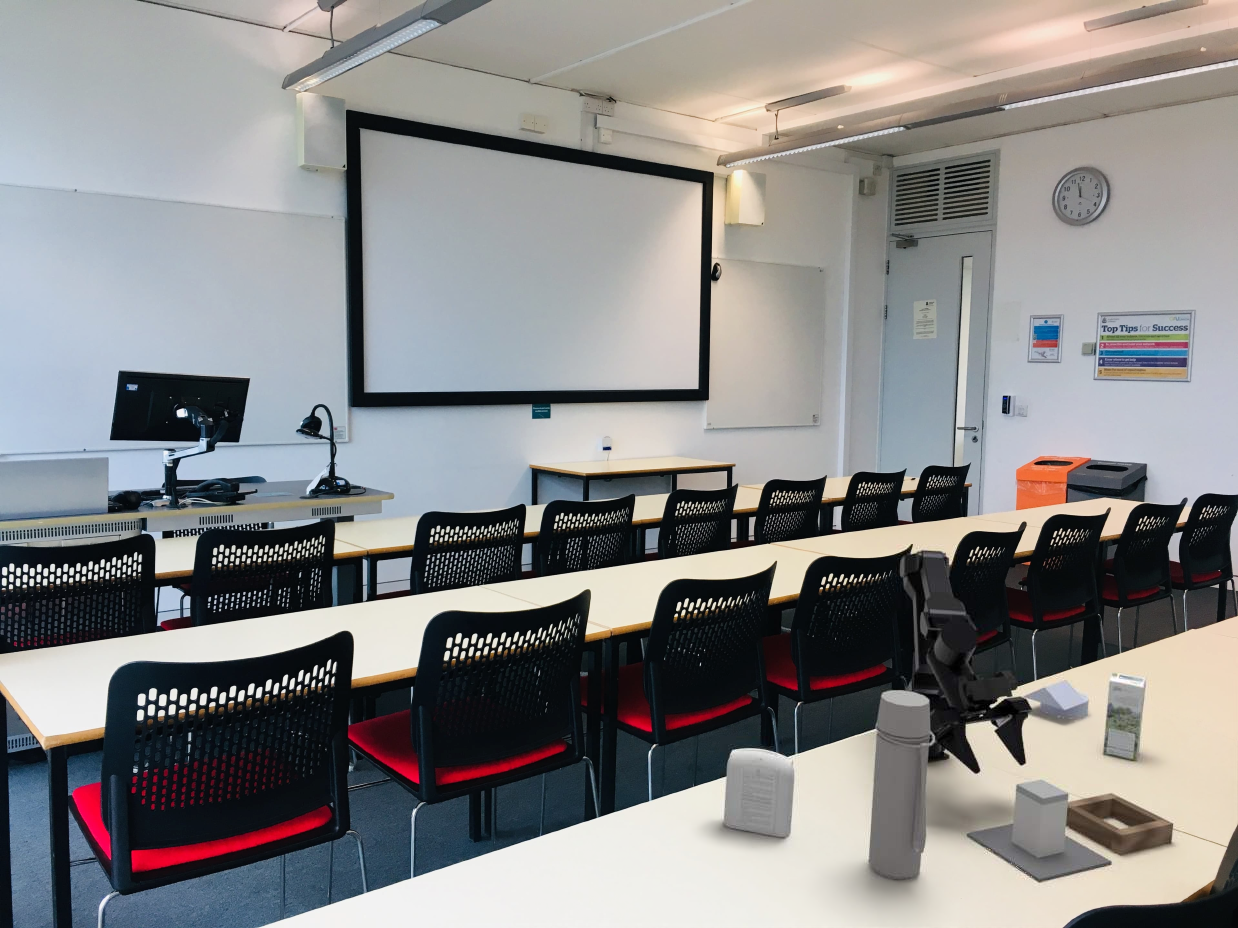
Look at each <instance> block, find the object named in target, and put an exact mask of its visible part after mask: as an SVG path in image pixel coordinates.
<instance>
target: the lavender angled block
mask: <svg viewBox="0 0 1238 928" xmlns="http://www.w3.org/2000/svg"><path fill="white" fill-rule="evenodd" d="M1022 697H1023V698H1025V699H1027V700H1032V701H1034V702H1038V703H1039V704H1040V705H1039V706H1040V710H1041V709H1042V710H1043V711H1042V710H1041V711H1042V712H1044V711H1045V712H1044V713H1046V712H1047V713H1046V714H1048V715H1050V714H1051V716H1053V715H1055V716H1054V717H1057V716H1060V717H1059V718H1062V717H1064V718H1063V719H1069V718H1081V719H1085V718H1086V716H1087V717H1088V712H1089V700H1090V699H1089V697H1088V696H1087V695H1086V694H1084V693H1081V692H1078V691H1077V690H1076V689H1075V688H1074V687H1073V685H1072V684H1070V683H1069V681H1068V680H1067V679H1065V680H1062V681H1059V682H1055V683H1053V684H1050V685H1047V686H1044V687H1042V688H1039V689H1038V690H1035V691H1033V692H1031V693H1028V694H1026V695H1024V696H1022ZM1084 717H1085V718H1084Z"/></svg>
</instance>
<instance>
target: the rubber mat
mask: <svg viewBox="0 0 1238 928" xmlns="http://www.w3.org/2000/svg"><path fill="white" fill-rule="evenodd" d="M1012 834H1013V823H1009V824H1004V825H999V826H995V827H990V828H986V829H985V828H984V829H981V830H975V831H971V832H970V831H969V832H968V833H966V836H967V837H968V838H969V839H971V840H973V841H974V842H976V843H977V842H978V843H977V844H979V843H980V844H981V846H982V845H983V847H984V846H985V847H986V848H985V847H984V848H985V849H987V848H988V849H990V850H991V851H993V852H994V853H993V852H992V853H993V854H995V855H996V854H997V855H996V856H998V855H999V856H1001V857H1002V858H1004V859H1005V860H1004V859H1003V860H1004V861H1006V860H1007V861H1008V862H1007V861H1006V862H1007V863H1009V862H1010V863H1012V864H1013V865H1015V866H1017V867H1018V868H1019V869H1018V868H1017V867H1016V868H1017V869H1018V870H1020V869H1021V870H1022V871H1021V870H1020V871H1021V872H1023V871H1024V872H1026V873H1027V874H1026V873H1025V874H1026V875H1028V876H1029V875H1030V876H1029V877H1031V876H1032V877H1033V878H1032V877H1031V878H1032V879H1034V878H1035V879H1036V880H1035V879H1034V880H1035V881H1037V880H1038V881H1037V882H1039V881H1041V882H1045V881H1048V879H1049V880H1052V879H1051V878H1053V879H1056V877H1057V878H1061V877H1064V875H1065V876H1070V875H1073V874H1076V873H1077V874H1078V873H1081V872H1085V871H1088V870H1093V869H1097V868H1101V867H1104V866H1109V865H1112V860H1110V859H1109V858H1107V857H1104V856H1103V855H1101V854H1099V853H1098V852H1096V851H1094V850H1092V849H1090V848H1089V847H1087V846H1085V845H1083V844H1081V843H1080V842H1078V841H1076V840H1075V839H1073V838H1071V837H1069V836H1068V835H1066V834H1065V841H1064V852H1061V853H1057V854H1053V855H1048V856H1044V857H1040V858H1037V857H1036V856H1034V855H1033V854H1031V853H1029V852H1028V851H1026V850H1024V849H1023V848H1021V847H1019V846H1018V845H1016V844H1015V843H1013V842H1012ZM980 844H979V845H980ZM988 849H987V850H988ZM990 850H989V851H990ZM991 851H990V852H991ZM999 856H998V857H999ZM1001 857H1000V858H1001ZM1002 858H1001V859H1002ZM1010 863H1009V864H1010ZM1012 864H1011V865H1012ZM1013 865H1012V866H1013ZM1015 866H1014V867H1015ZM1024 872H1023V873H1024ZM1060 876H1061V877H1060ZM1044 880H1045V881H1044Z"/></svg>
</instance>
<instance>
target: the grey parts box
mask: <svg viewBox="0 0 1238 928" xmlns="http://www.w3.org/2000/svg"><path fill="white" fill-rule="evenodd" d="M1015 785H1016V787H1015V788H1016V789H1015V796H1014V797H1015V799H1014V810H1013V811H1014V813H1013V822H1012V824H1013V834H1012V842H1013V843H1015V844H1016V845H1018V846H1019V847H1021V848H1023V849H1024V850H1026V851H1028V852H1029V853H1031V854H1033V855H1034V856H1036V857H1037V858H1040V857H1044V856H1048V855H1053V854H1057V853H1061V852H1064V841H1065V835H1066V828H1067V825H1066V818H1067V806H1068V802H1069V795H1070V794H1069V792H1066V791H1065V790H1063V789H1061V788H1059V787H1057V786H1056V785H1053V784H1051V783H1049V782H1048V781H1046V780H1044V779H1037V780H1033V781H1026V782H1022V783H1017V784H1015Z"/></svg>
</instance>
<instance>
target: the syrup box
mask: <svg viewBox="0 0 1238 928" xmlns="http://www.w3.org/2000/svg"><path fill="white" fill-rule="evenodd" d="M1146 684H1147V679H1146V678H1144V677H1139V676H1133V675H1128V674H1122V673H1118V672H1117V673H1116V672H1112V674H1111V676H1110V678H1109V684H1108V695H1107V705H1106V713H1105V714H1106V718H1105V728H1104V739H1103V747H1102V748H1103V749H1102V754H1104V755H1106V756H1111V757H1112V756H1113V757H1114V758H1115V757H1116V758H1119V759H1125V760H1130V761H1133V762H1134V761H1135V762H1136V761H1137V760H1138V757H1139V754H1140V749H1141V747H1140V746H1141V733H1142V732H1141V731H1142V724H1143V723H1142V722H1143V712H1144V702H1145V694H1146V688H1147V687H1146Z"/></svg>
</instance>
